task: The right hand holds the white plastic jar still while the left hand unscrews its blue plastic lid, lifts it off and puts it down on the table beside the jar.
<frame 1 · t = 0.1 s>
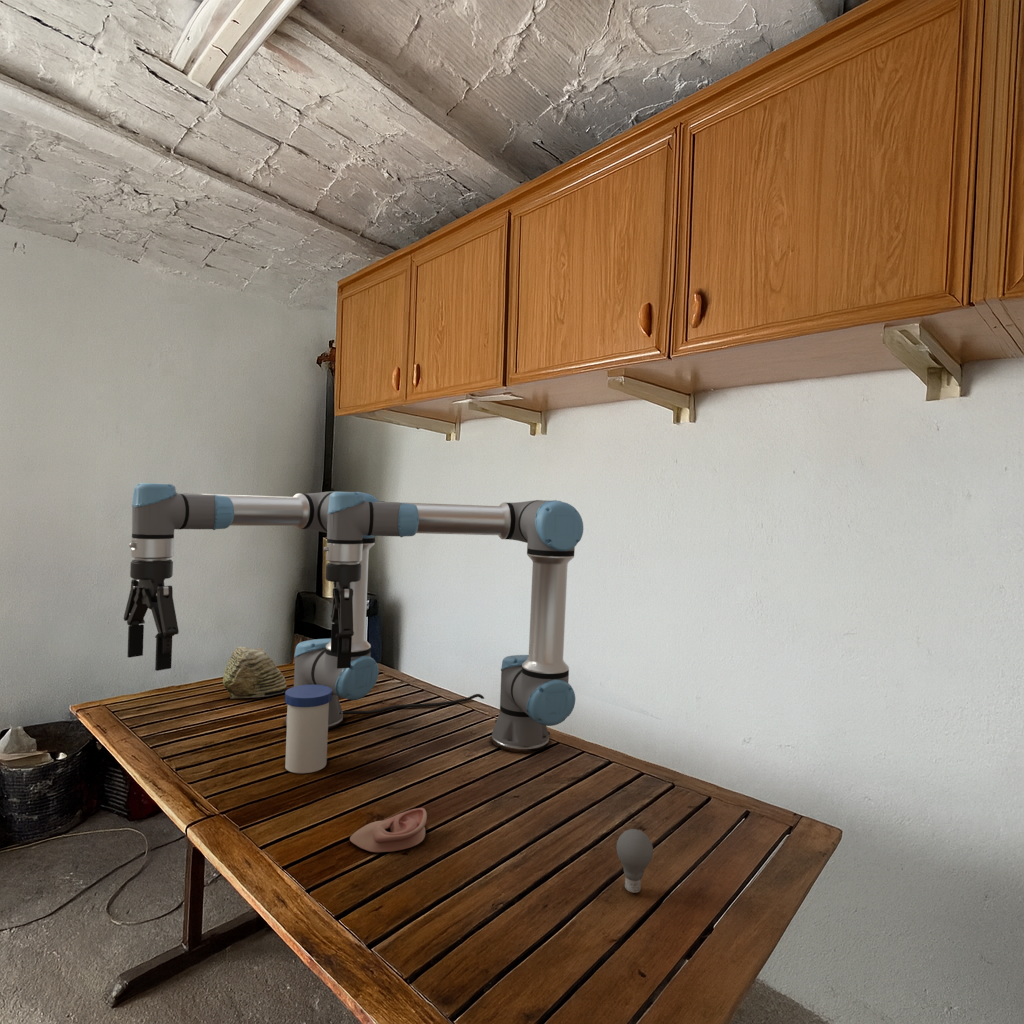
left hand: (148, 662, 129), 28 cm above the table, tool pointing down, fingers open, 13 cm apart
right hand: (340, 659, 138), 28 cm above the table, tool pointing down, fingers open, 13 cm apart
jar: (306, 764, 149), on the table
fossil: (254, 694, 198), on the table
light bulb: (632, 891, 106), on the table
lid: (308, 692, 149), point 17 cm above the table, screwed on, not yet turned
anatomical model: (388, 837, 119), on the table
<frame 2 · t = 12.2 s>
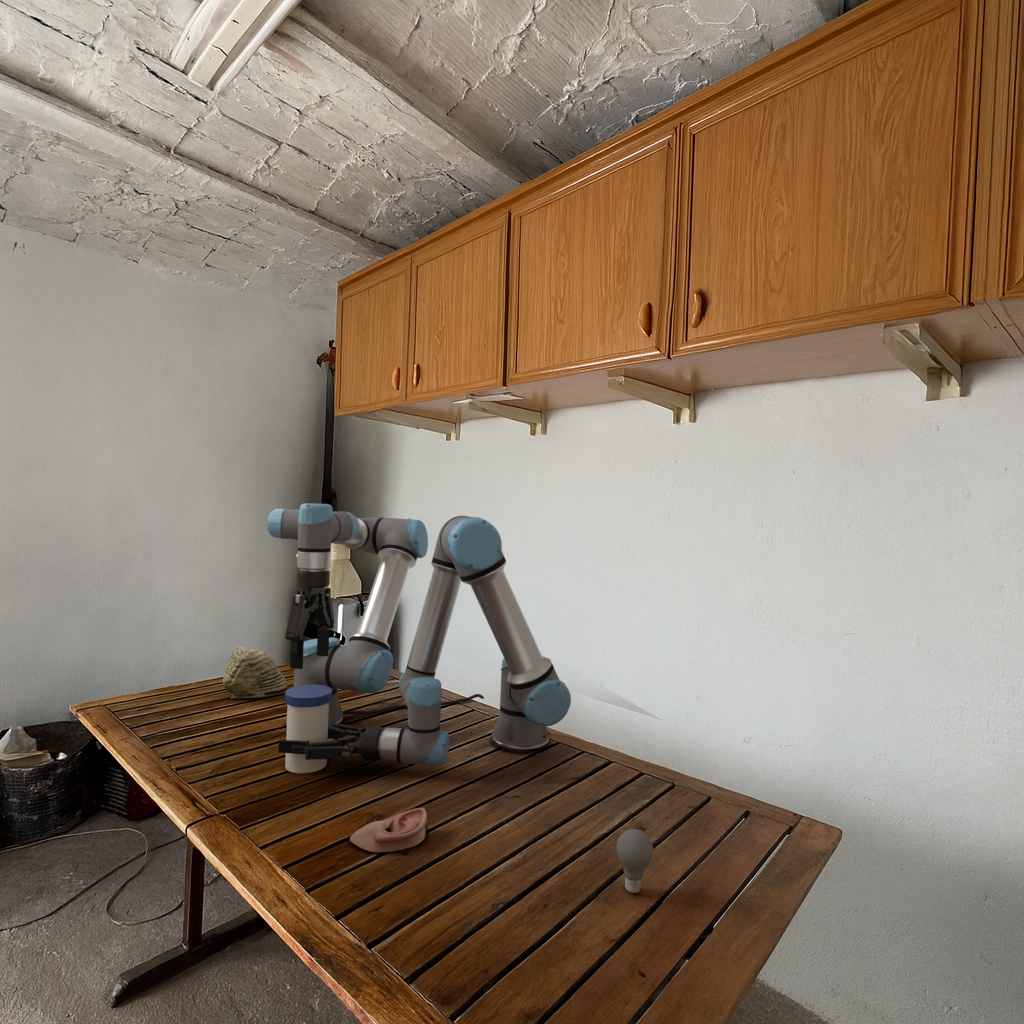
left hand: (310, 661, 149), 24 cm above the table, tool pointing down, fingers open, 12 cm apart
right hand: (288, 737, 149), 6 cm above the table, tool horizontal, fingers closed on jar, 9 cm apart
jar: (306, 764, 149), on the table, touching right hand
everything else where it was.
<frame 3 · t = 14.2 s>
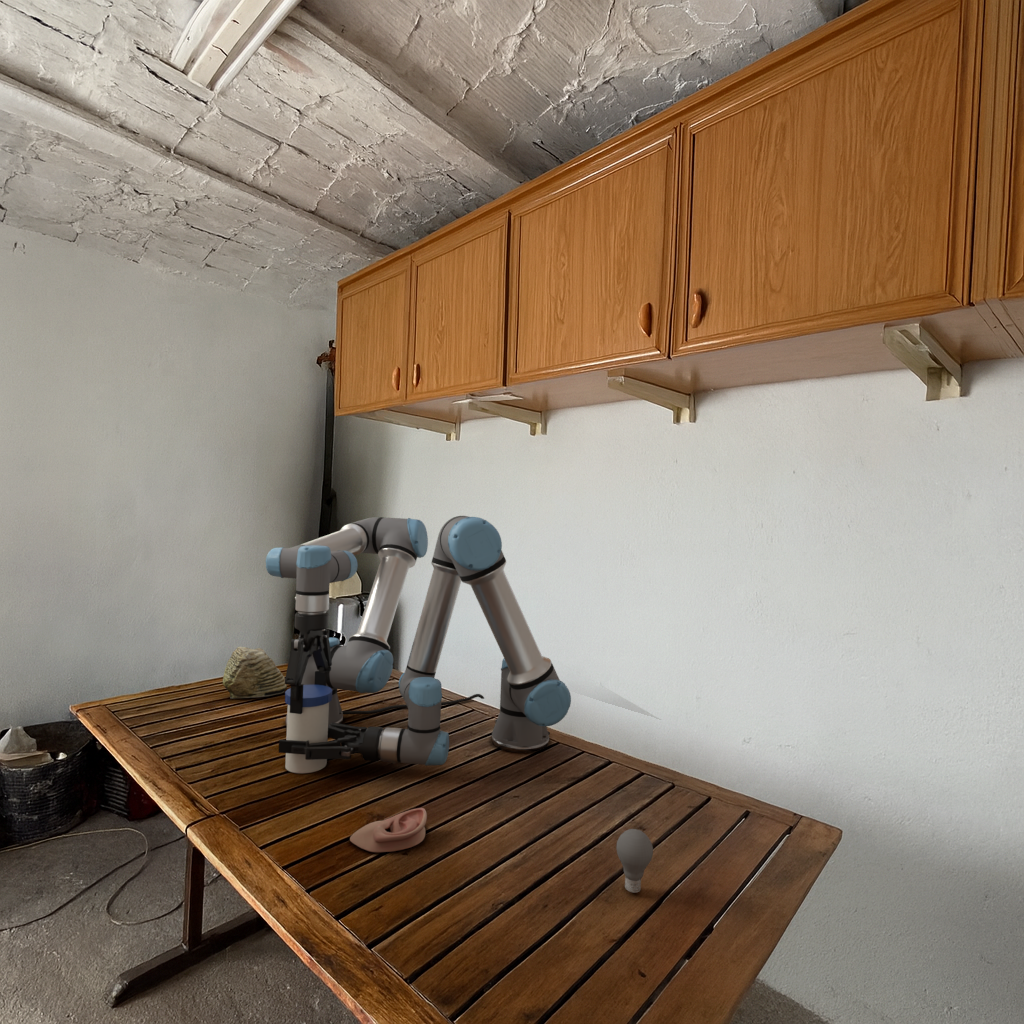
left hand: (308, 705, 149), 14 cm above the table, tool pointing down, fingers closed on lid, 10 cm apart
right hand: (288, 737, 149), 6 cm above the table, tool horizontal, fingers closed on jar, 9 cm apart
jar: (306, 764, 149), on the table, touching right hand
lid: (308, 692, 149), point 17 cm above the table, screwed on, not yet turned, touching left hand
everything else where it was.
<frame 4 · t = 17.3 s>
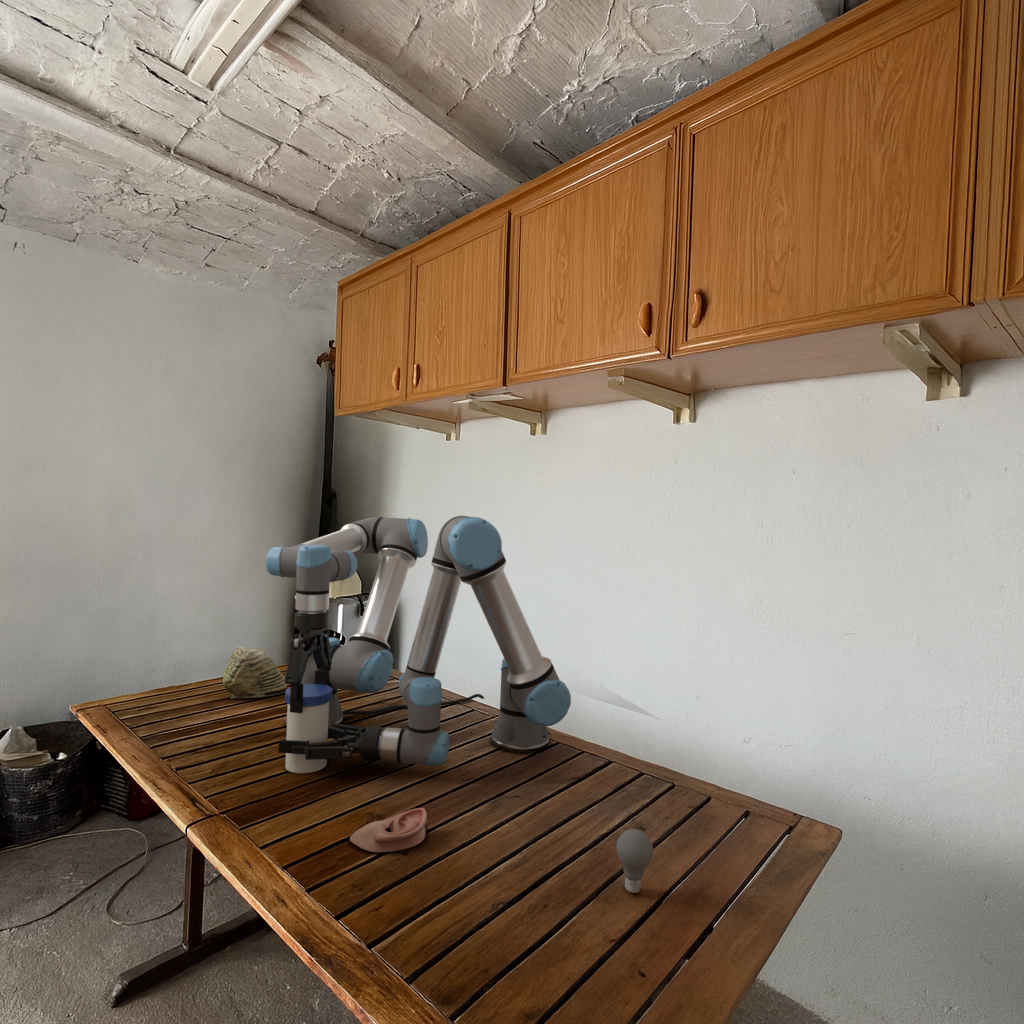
left hand: (308, 704, 149), 14 cm above the table, tool pointing down, fingers closed on lid, 10 cm apart
right hand: (288, 737, 149), 6 cm above the table, tool horizontal, fingers closed on jar, 9 cm apart
jar: (306, 764, 149), on the table, touching right hand
lid: (308, 691, 149), point 17 cm above the table, turned 69° so far, risen 0.2 cm, still on its thread, touching left hand
everything else where it was.
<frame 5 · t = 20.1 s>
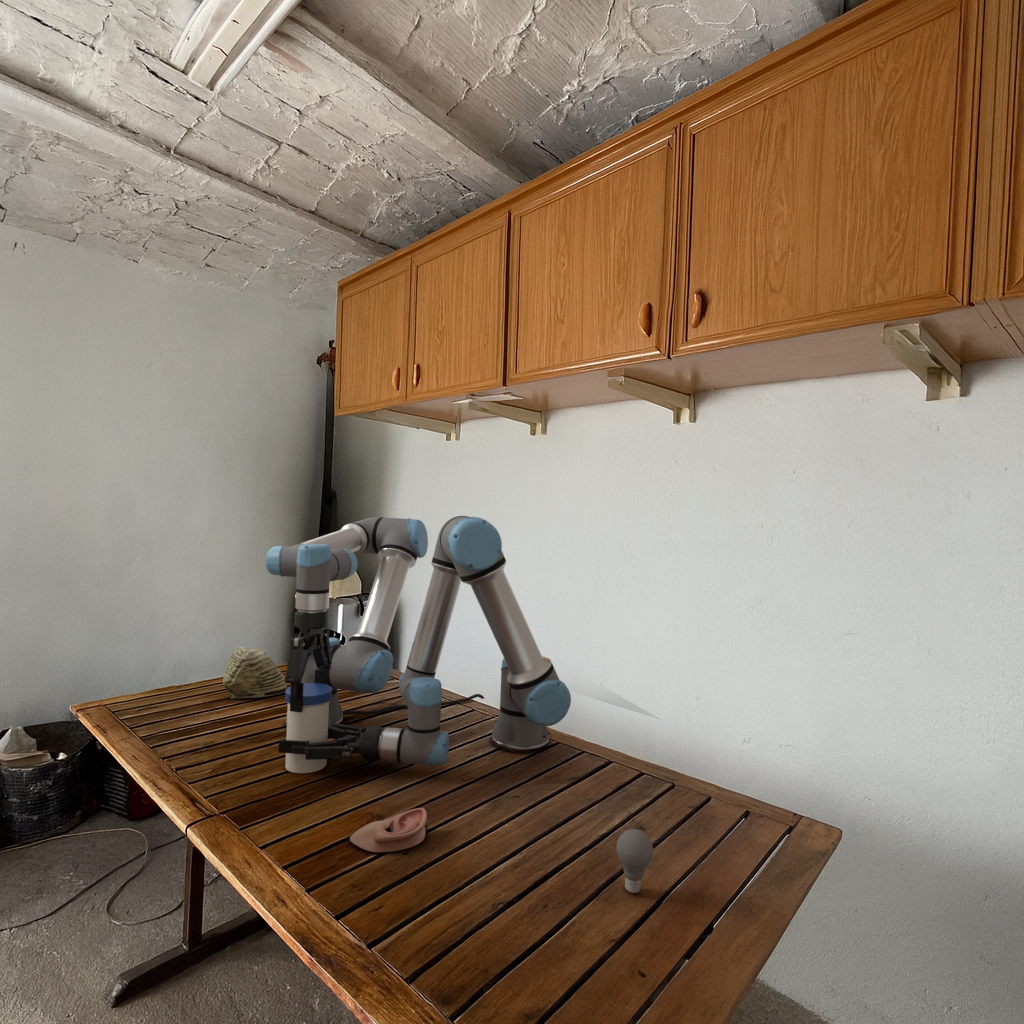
left hand: (308, 703, 149), 14 cm above the table, tool pointing down, fingers closed on lid, 10 cm apart
right hand: (288, 737, 149), 6 cm above the table, tool horizontal, fingers closed on jar, 9 cm apart
jar: (306, 764, 149), on the table, touching right hand
lid: (308, 690, 149), point 18 cm above the table, turned 138° so far, risen 0.4 cm, still on its thread, touching left hand
everything else where it was.
when the left hand's fingers open (0 cm above the table, at t = 26.8 s): lid drops 1 cm, point 2 cm above the table.
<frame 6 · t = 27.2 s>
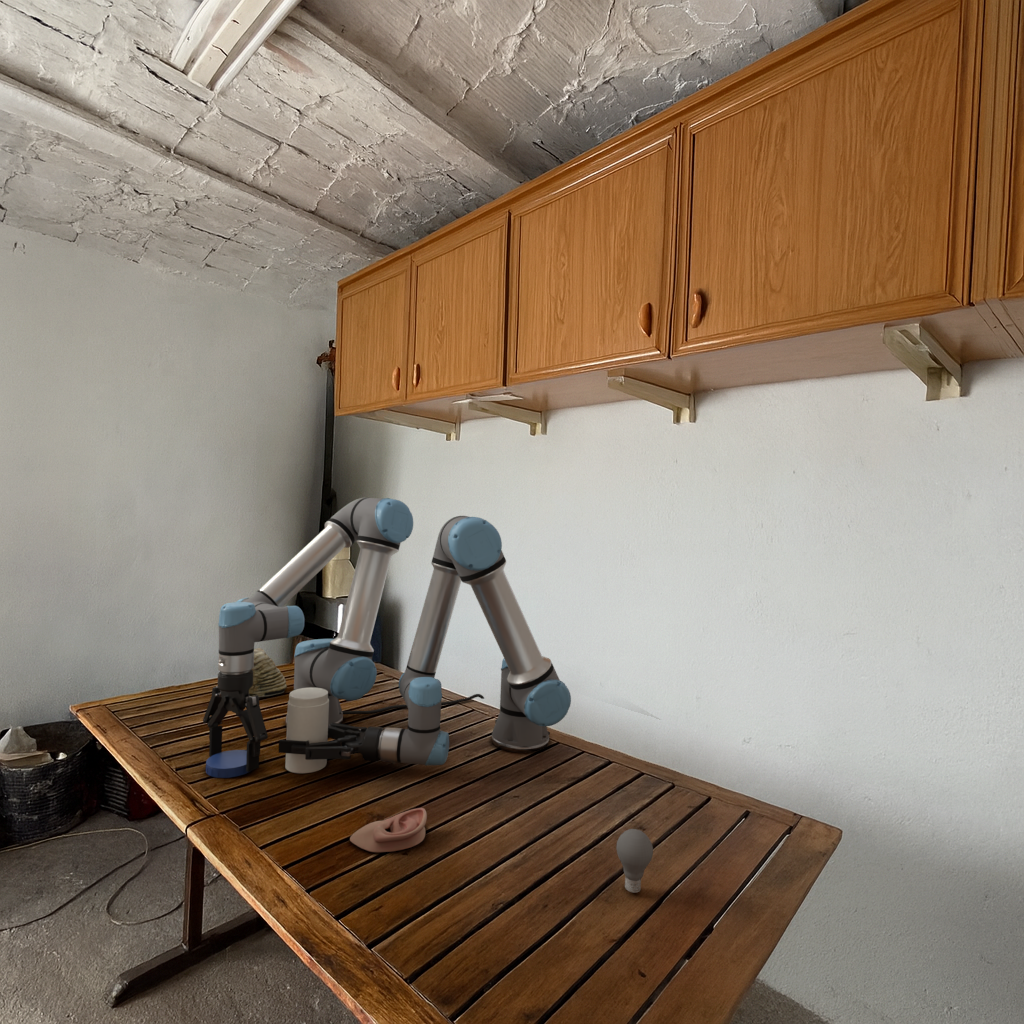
left hand: (233, 762, 146), 1 cm above the table, tool pointing down, fingers open, 13 cm apart
right hand: (288, 737, 149), 6 cm above the table, tool horizontal, fingers closed on jar, 9 cm apart
jar: (306, 764, 149), on the table, touching right hand
lid: (231, 760, 146), point 2 cm above the table, off its thread
everything else where it was.
when the right hand's fingers open (6 cm above the table, at t = 27.8 s): jar stays where it is, on the table.
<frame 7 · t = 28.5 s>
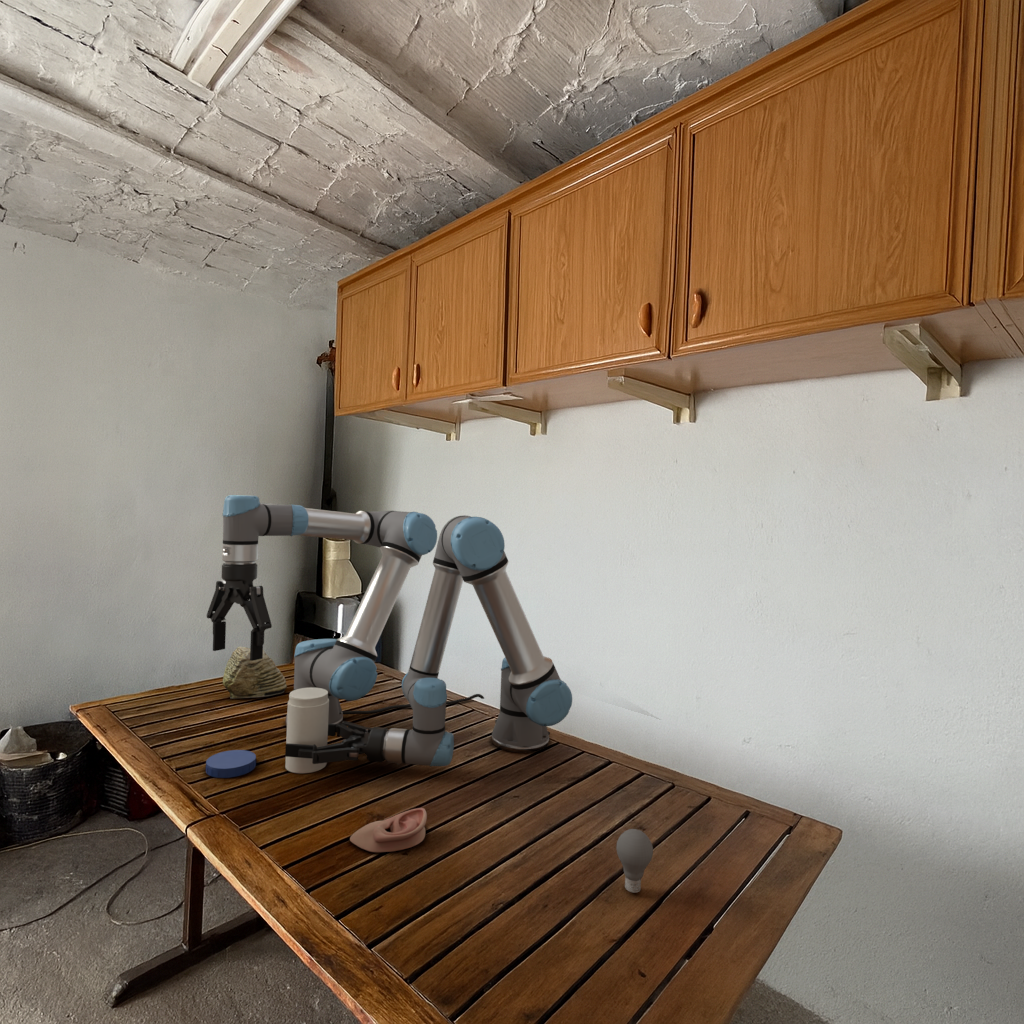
left hand: (237, 654, 146), 26 cm above the table, tool pointing down, fingers open, 13 cm apart
right hand: (298, 738, 149), 6 cm above the table, tool horizontal, fingers open, 13 cm apart
jar: (306, 764, 149), on the table
everything else where it was.
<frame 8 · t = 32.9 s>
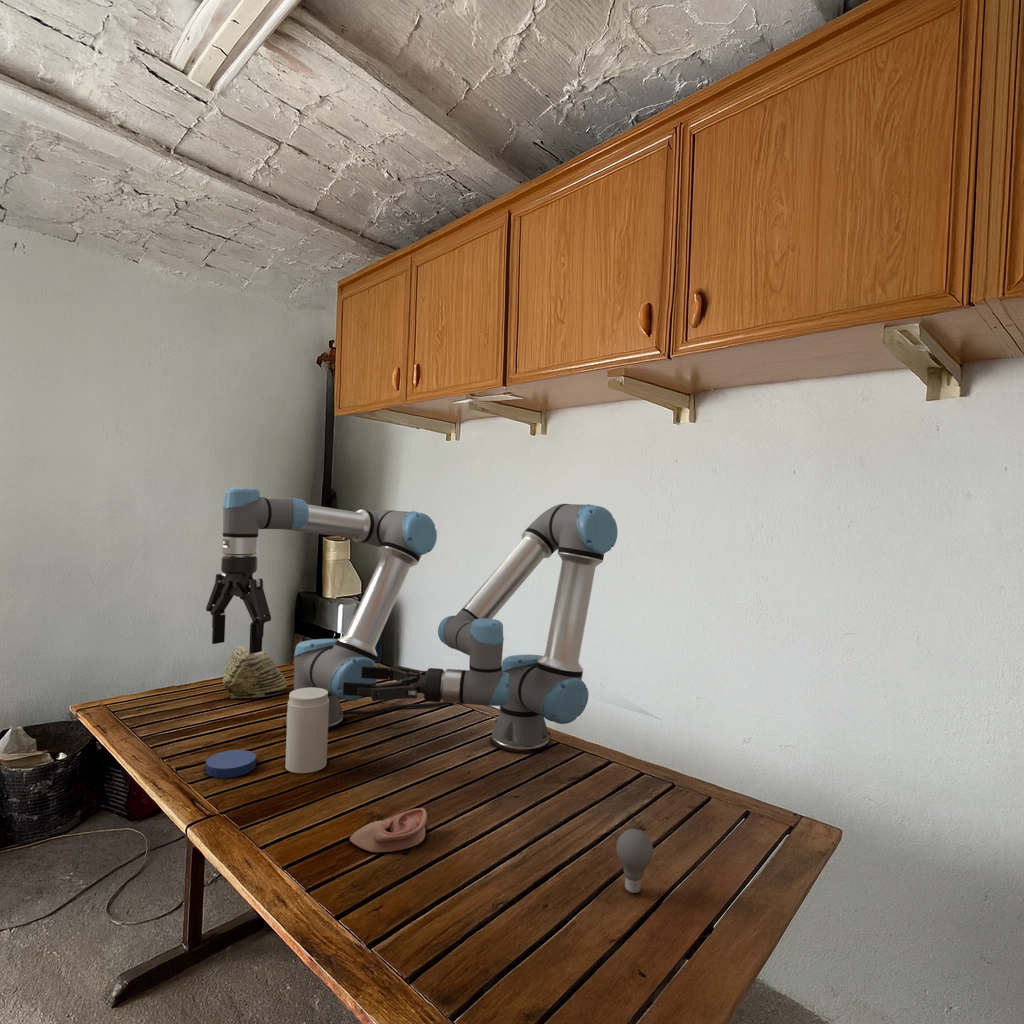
left hand: (236, 647, 145), 28 cm above the table, tool pointing down, fingers open, 13 cm apart
right hand: (353, 679, 148), 21 cm above the table, tool horizontal, fingers open, 13 cm apart
nothing on the table moved.
at the end: lid came off its thread; lid point 1.8 cm above the table; the left hand is holding nothing; the right hand is holding nothing; jar tilted 0°; jar moved 0.0 cm from its start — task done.
